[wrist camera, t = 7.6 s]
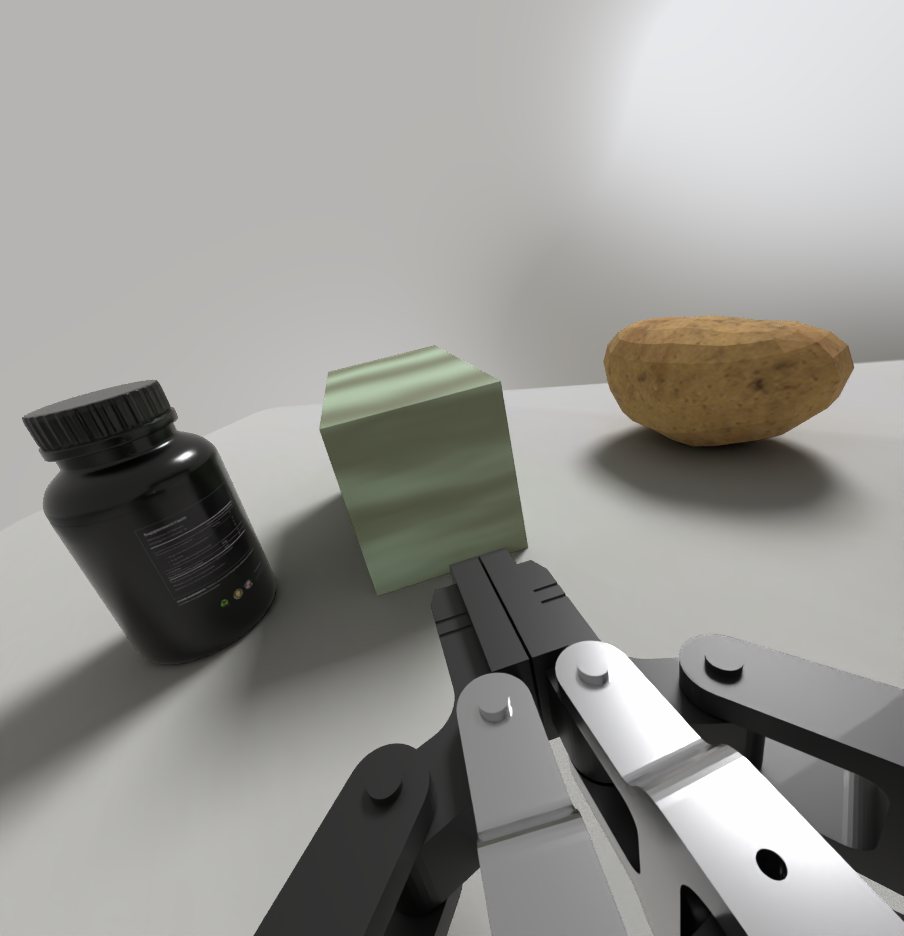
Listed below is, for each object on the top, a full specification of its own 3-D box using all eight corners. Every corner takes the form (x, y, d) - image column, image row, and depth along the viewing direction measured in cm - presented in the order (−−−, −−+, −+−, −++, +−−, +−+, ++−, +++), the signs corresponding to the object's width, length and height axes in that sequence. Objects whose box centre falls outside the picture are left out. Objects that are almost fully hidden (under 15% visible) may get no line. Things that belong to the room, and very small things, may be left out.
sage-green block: (528, 549, 23) (500, 380, 19) (378, 598, 22) (319, 429, 18) (458, 455, 37) (434, 345, 33) (363, 482, 36) (328, 371, 32)
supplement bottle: (113, 652, 22) (-43, 428, 17) (228, 567, 27) (133, 377, 23) (194, 688, 19) (29, 423, 14) (307, 583, 24) (215, 365, 19)
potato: (782, 500, 22) (799, 338, 19) (578, 441, 34) (568, 335, 31) (877, 434, 26) (904, 290, 23) (663, 401, 38) (662, 303, 34)
